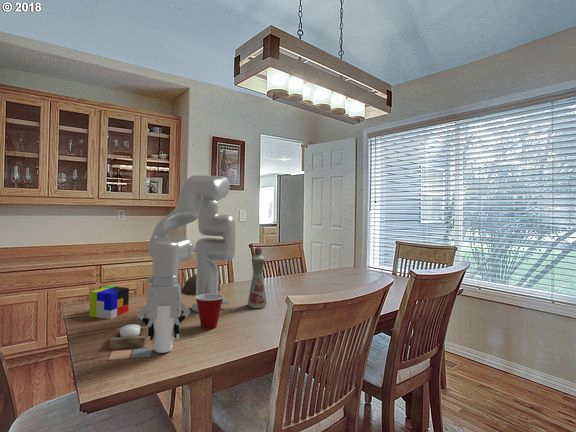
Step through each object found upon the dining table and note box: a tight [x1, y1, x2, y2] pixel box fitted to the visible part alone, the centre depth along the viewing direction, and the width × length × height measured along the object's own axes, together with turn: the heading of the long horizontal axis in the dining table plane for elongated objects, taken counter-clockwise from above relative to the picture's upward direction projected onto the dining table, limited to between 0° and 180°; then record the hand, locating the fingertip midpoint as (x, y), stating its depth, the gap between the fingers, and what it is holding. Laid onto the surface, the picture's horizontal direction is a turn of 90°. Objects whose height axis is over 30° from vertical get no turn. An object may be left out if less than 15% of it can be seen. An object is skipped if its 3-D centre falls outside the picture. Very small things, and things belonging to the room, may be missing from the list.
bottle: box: [247, 246, 267, 309], centre depth 151 cm, size 9×9×28 cm
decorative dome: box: [182, 273, 221, 296], centre depth 174 cm, size 19×20×10 cm
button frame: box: [109, 325, 149, 350], centre depth 107 cm, size 10×10×3 cm
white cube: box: [173, 333, 180, 341], centre depth 112 cm, size 4×4×4 cm
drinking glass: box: [153, 305, 175, 354], centre depth 101 cm, size 7×7×15 cm
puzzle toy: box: [88, 285, 130, 320], centre depth 133 cm, size 10×10×10 cm
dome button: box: [119, 323, 141, 337], centre depth 107 cm, size 6×6×4 cm
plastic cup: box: [195, 293, 225, 330], centre depth 123 cm, size 11×11×12 cm
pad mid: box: [129, 347, 154, 360], centre depth 99 cm, size 6×6×1 cm
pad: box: [107, 349, 133, 361], centre depth 97 cm, size 6×6×1 cm
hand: (163, 336), depth 101 cm, fingers closed on drinking glass, 6 cm apart
